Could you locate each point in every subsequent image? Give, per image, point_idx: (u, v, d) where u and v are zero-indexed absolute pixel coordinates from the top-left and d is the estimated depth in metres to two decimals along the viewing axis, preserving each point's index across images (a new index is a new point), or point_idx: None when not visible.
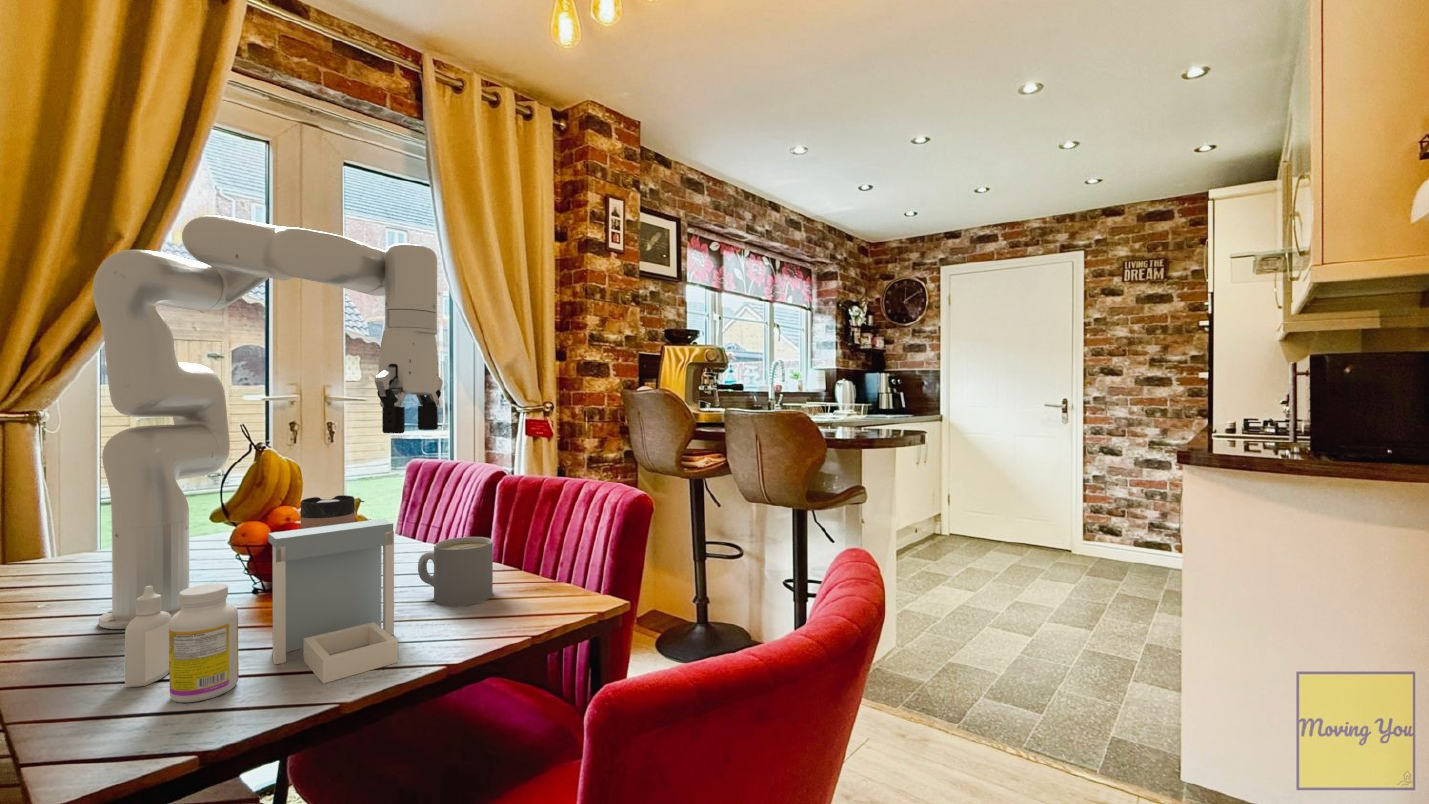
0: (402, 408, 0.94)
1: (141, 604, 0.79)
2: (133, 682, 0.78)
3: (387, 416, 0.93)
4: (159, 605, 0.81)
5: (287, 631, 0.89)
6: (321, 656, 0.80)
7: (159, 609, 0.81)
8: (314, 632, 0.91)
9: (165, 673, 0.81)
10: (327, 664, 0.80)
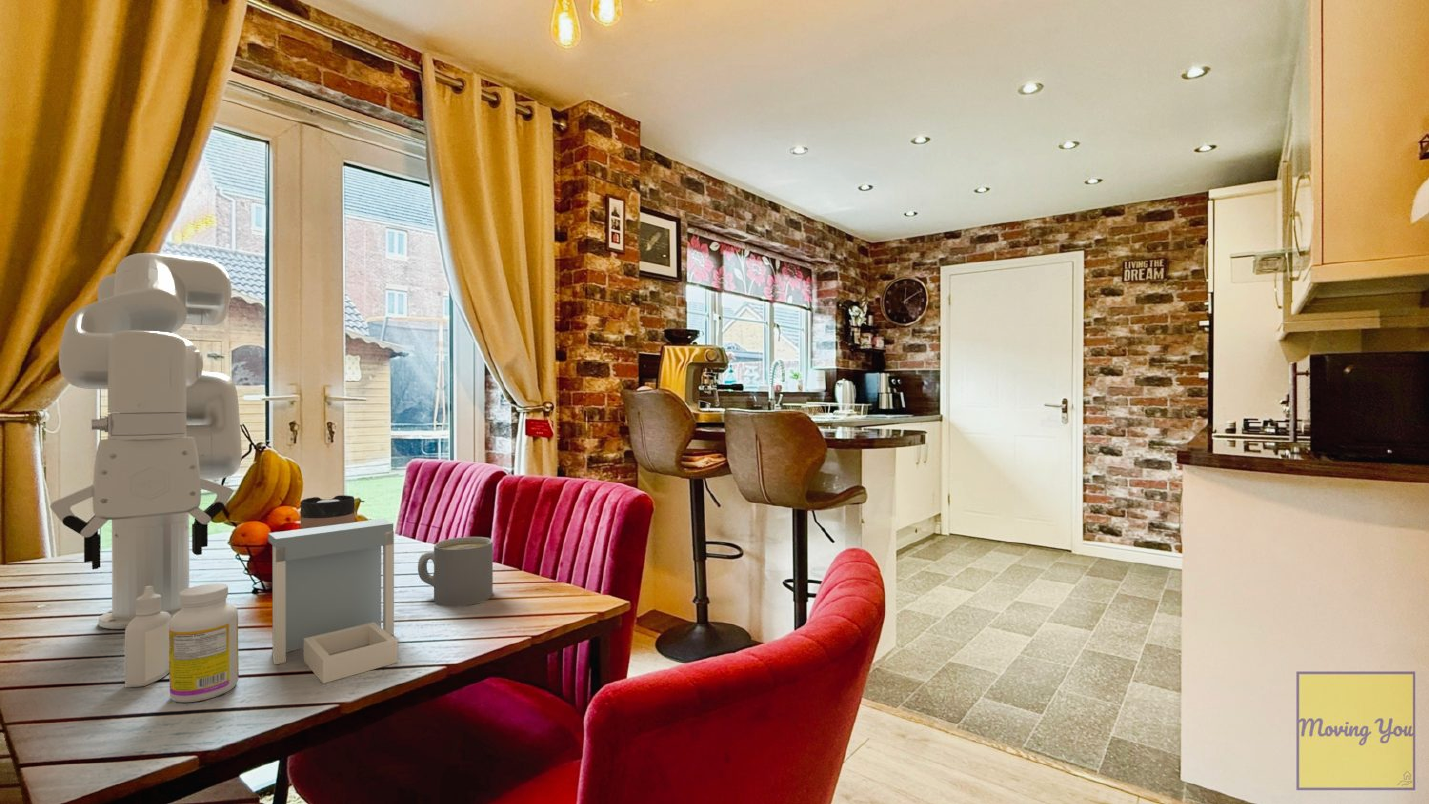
0: None
1: (141, 604, 0.79)
2: (133, 682, 0.78)
3: None
4: (159, 605, 0.81)
5: (287, 631, 0.89)
6: (321, 656, 0.80)
7: (159, 609, 0.81)
8: (314, 632, 0.91)
9: (165, 673, 0.81)
10: (327, 664, 0.80)
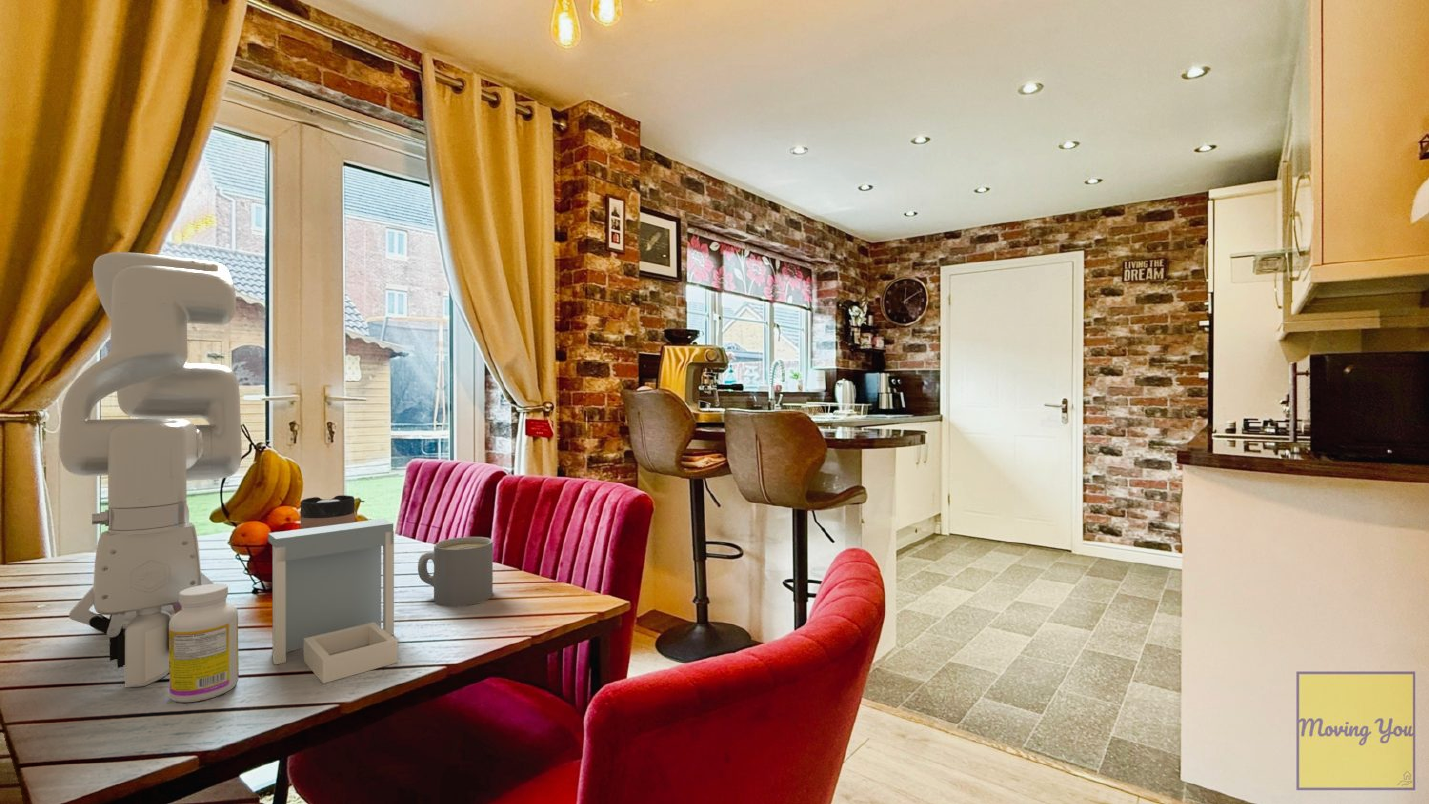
0: None
1: None
2: (133, 682, 0.78)
3: None
4: None
5: (287, 631, 0.89)
6: (321, 656, 0.80)
7: (159, 609, 0.81)
8: (314, 632, 0.91)
9: (165, 673, 0.81)
10: (327, 664, 0.80)
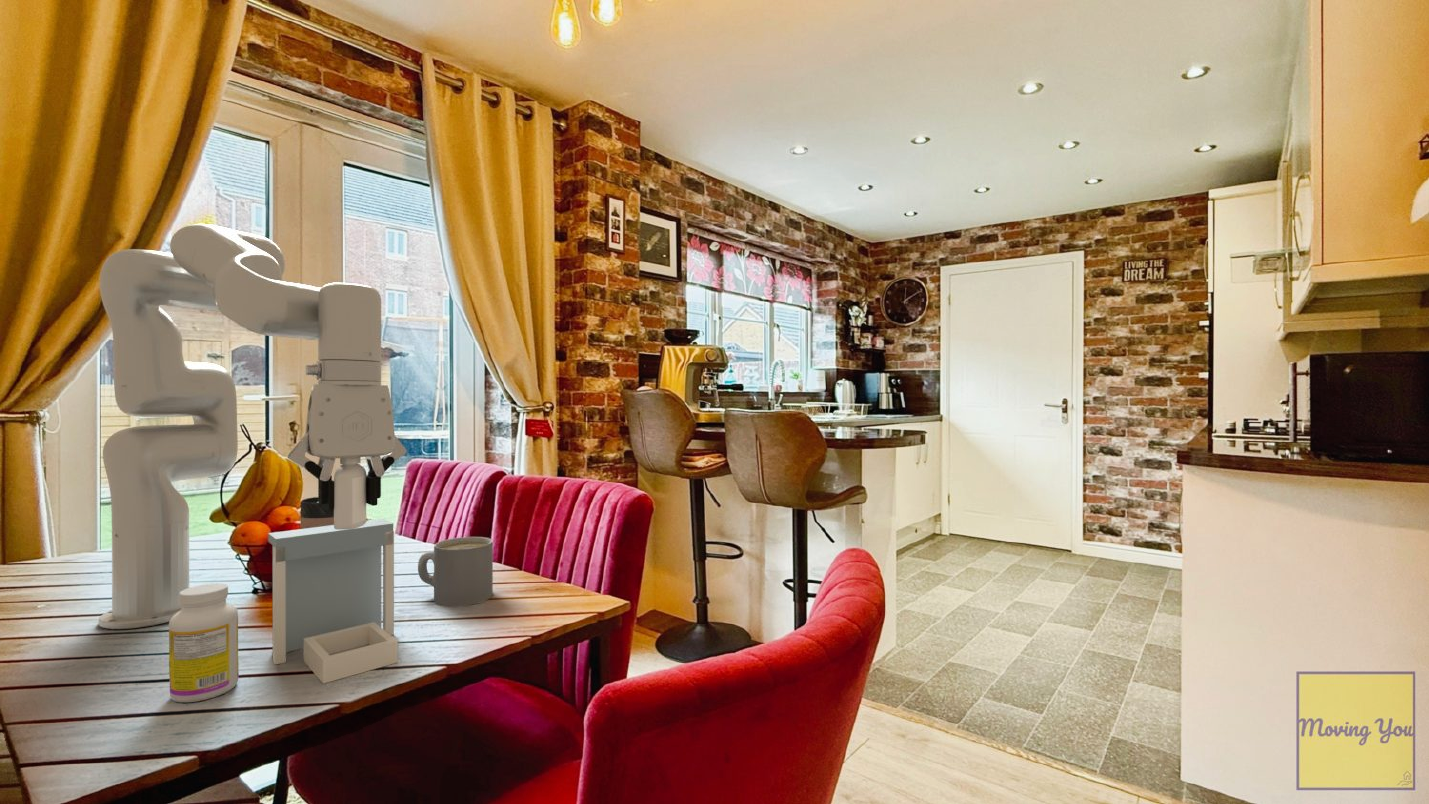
0: None
1: None
2: (342, 524, 0.83)
3: None
4: (359, 457, 0.86)
5: (287, 631, 0.89)
6: (321, 656, 0.80)
7: (359, 461, 0.86)
8: (314, 632, 0.91)
9: (364, 522, 0.86)
10: (327, 664, 0.80)
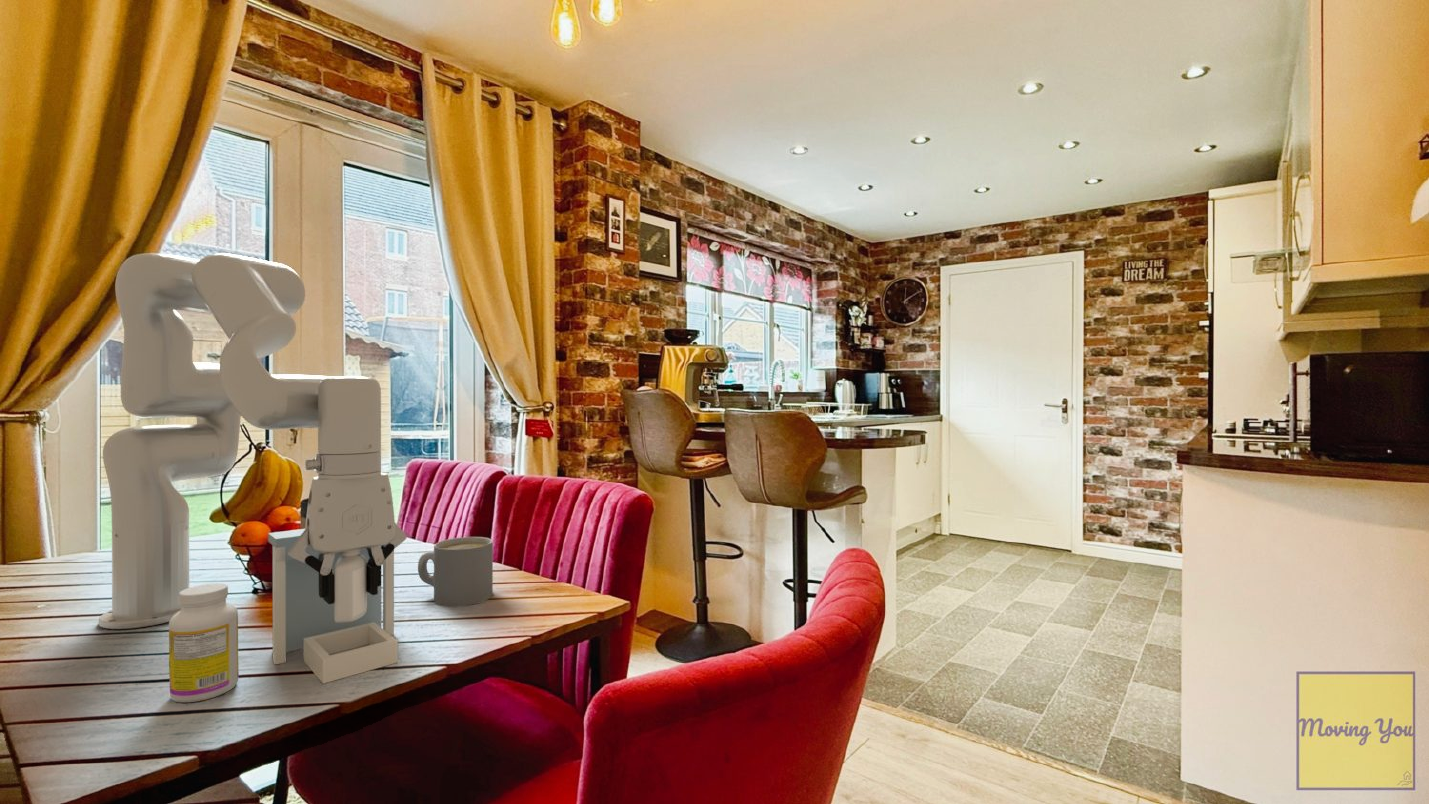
0: None
1: None
2: (342, 618, 0.83)
3: None
4: None
5: (287, 631, 0.89)
6: (321, 656, 0.80)
7: (360, 551, 0.86)
8: (314, 632, 0.91)
9: (365, 612, 0.86)
10: (327, 664, 0.80)
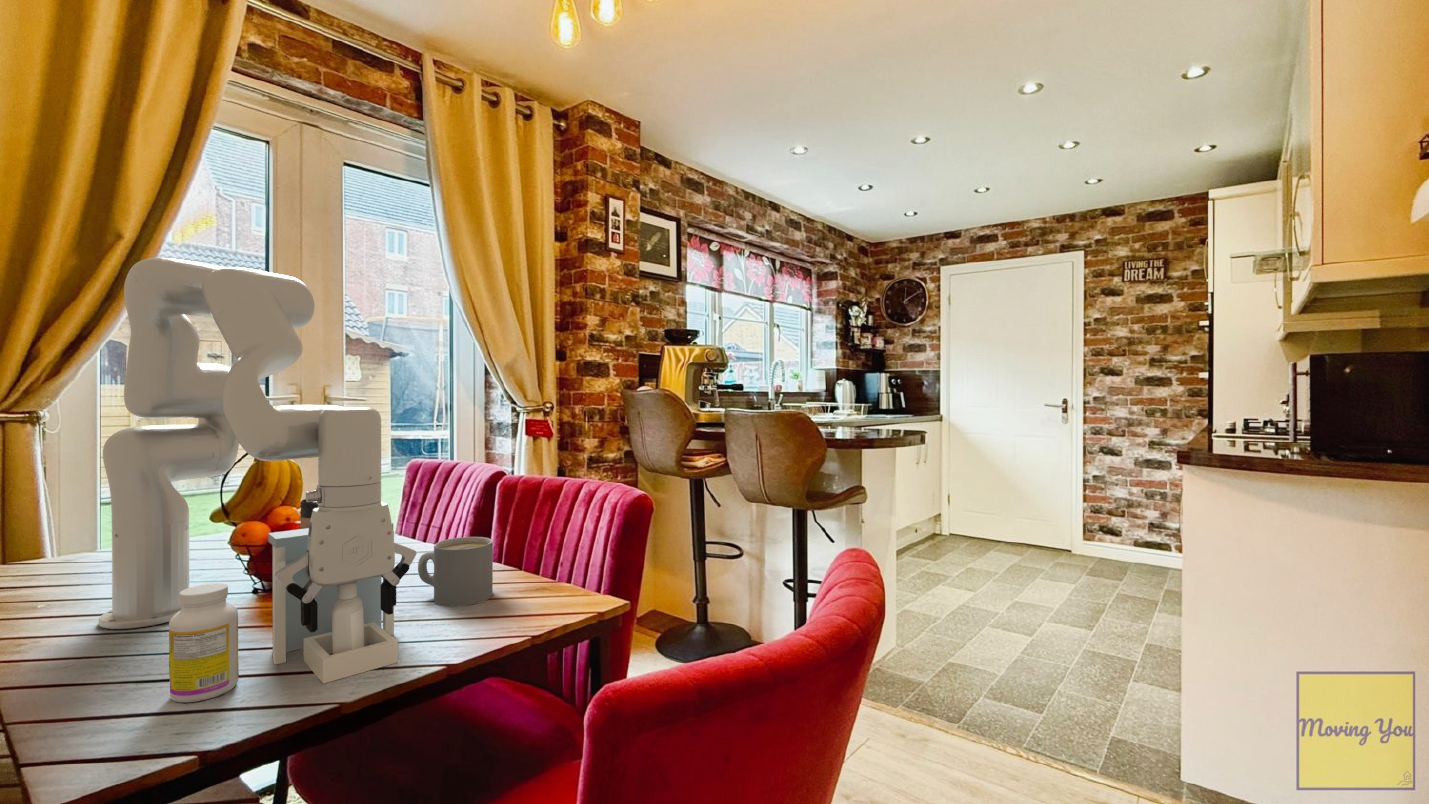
0: None
1: (343, 589, 0.85)
2: None
3: None
4: (356, 590, 0.86)
5: (287, 631, 0.89)
6: (321, 656, 0.80)
7: (356, 593, 0.86)
8: (314, 632, 0.91)
9: None
10: (327, 664, 0.80)
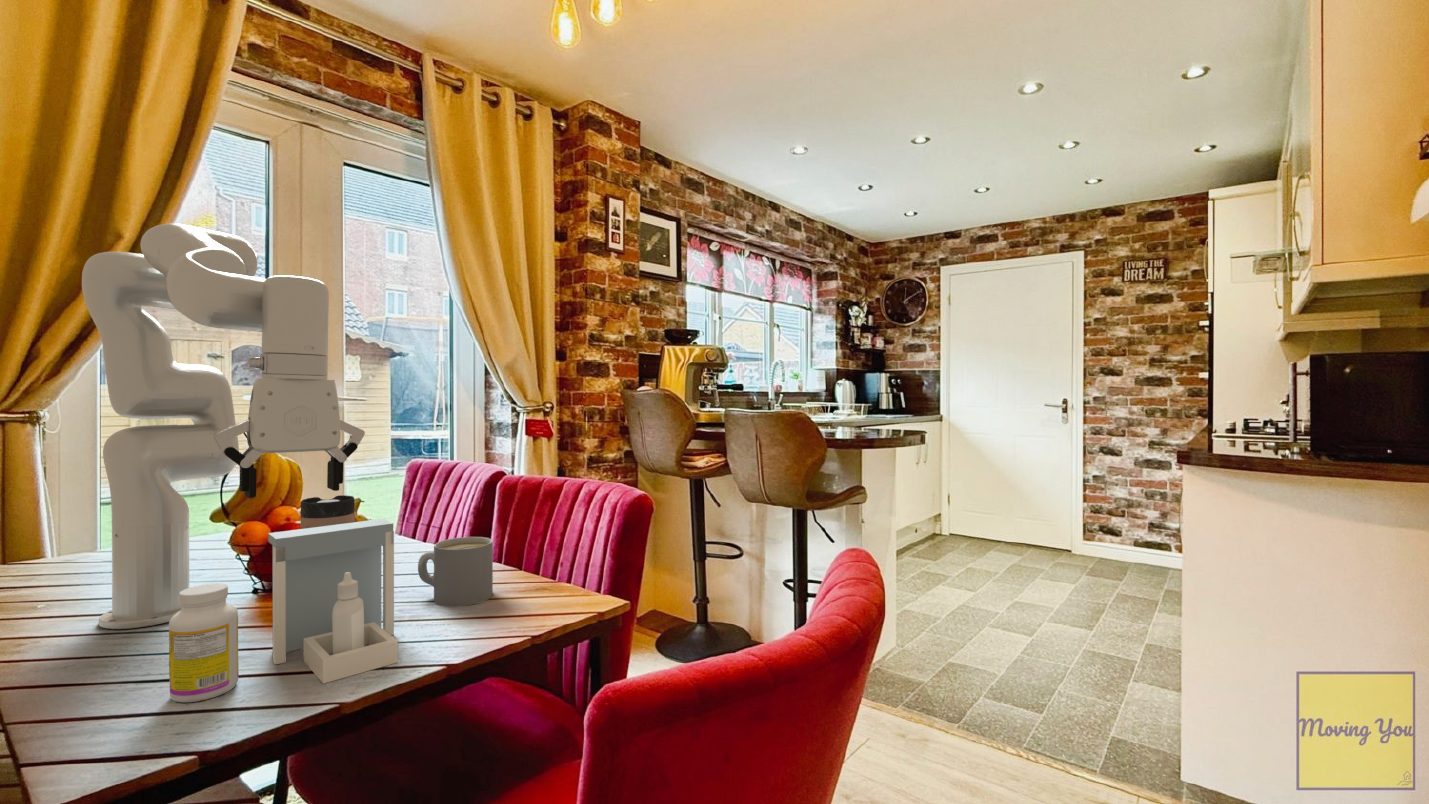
0: None
1: (343, 589, 0.85)
2: None
3: None
4: (357, 590, 0.86)
5: (287, 631, 0.89)
6: (321, 656, 0.80)
7: (357, 594, 0.86)
8: (314, 632, 0.91)
9: None
10: (327, 664, 0.80)
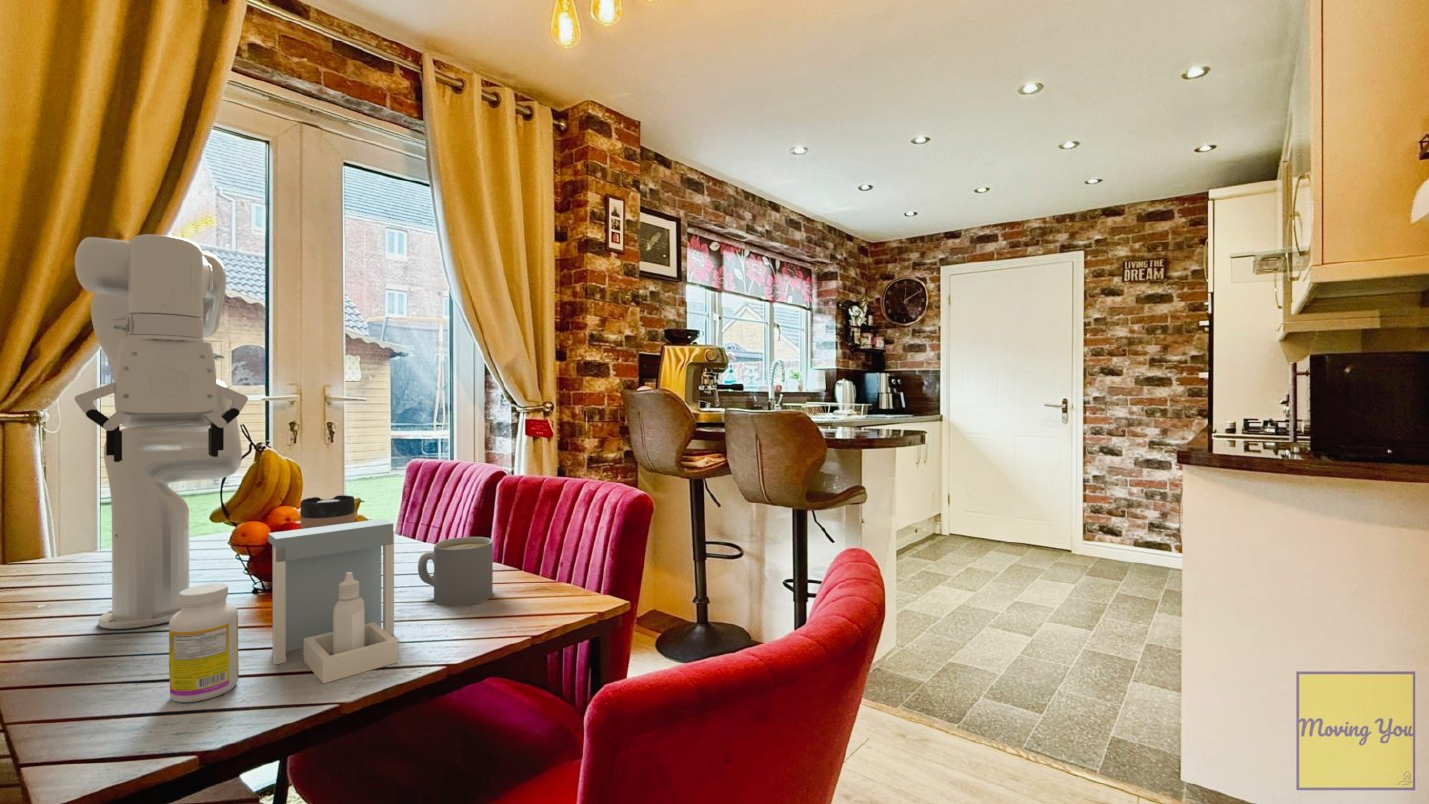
0: None
1: (345, 589, 0.85)
2: None
3: None
4: (358, 590, 0.86)
5: (287, 631, 0.89)
6: (321, 656, 0.80)
7: (358, 594, 0.86)
8: (314, 632, 0.91)
9: None
10: (327, 664, 0.80)
